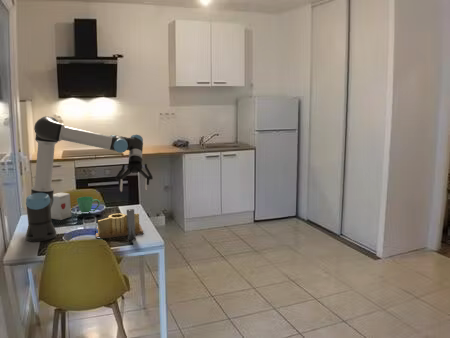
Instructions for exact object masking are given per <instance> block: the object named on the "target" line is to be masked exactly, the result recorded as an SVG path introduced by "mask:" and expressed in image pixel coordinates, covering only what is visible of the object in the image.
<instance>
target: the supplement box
mask: <svg viewBox="0 0 450 338" xmlns="http://www.w3.org/2000/svg"><path fill="white" fill-rule="evenodd" d="M53 198H54V202H53V205H52V207H51V219H53V220H58V221H62V220H65V219H67V218H71V217H72V207H71V205H72V204H71V194H70V193H67V192H57V193H53Z"/></svg>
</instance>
